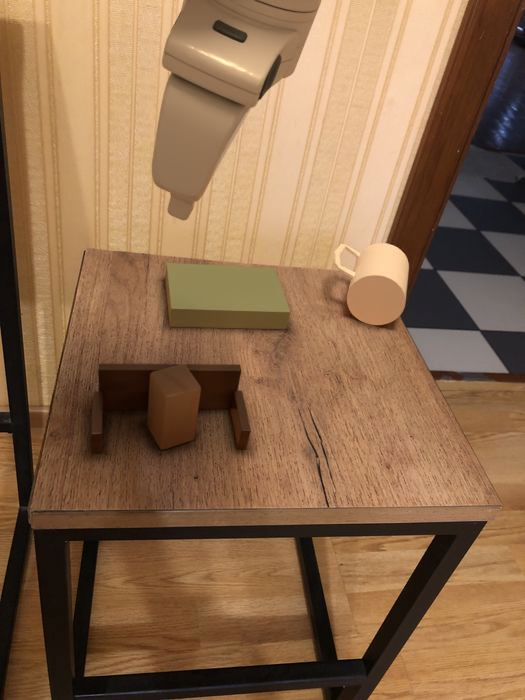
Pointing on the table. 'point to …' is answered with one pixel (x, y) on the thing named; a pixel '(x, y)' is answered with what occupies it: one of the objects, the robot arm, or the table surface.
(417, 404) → the table surface
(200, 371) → the frame
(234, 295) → the board
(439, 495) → the table surface
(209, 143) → the robot arm
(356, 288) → the cup
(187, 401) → the wooden block
